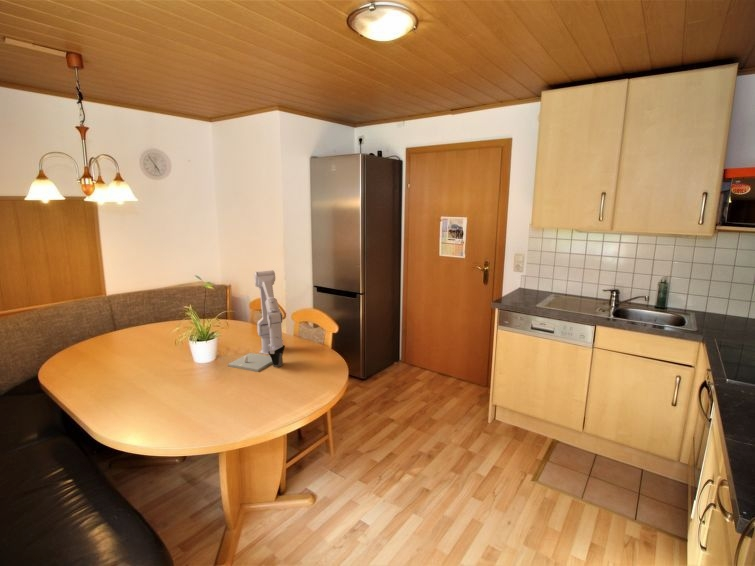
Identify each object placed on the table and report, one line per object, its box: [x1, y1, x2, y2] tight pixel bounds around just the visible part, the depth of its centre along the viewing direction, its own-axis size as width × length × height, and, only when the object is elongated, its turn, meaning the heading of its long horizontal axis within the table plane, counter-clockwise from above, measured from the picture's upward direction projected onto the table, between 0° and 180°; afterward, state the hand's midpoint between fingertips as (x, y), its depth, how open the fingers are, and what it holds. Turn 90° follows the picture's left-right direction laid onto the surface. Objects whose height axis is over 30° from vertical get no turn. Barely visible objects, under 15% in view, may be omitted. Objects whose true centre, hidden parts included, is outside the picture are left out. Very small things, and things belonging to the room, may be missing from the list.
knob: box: [272, 353, 284, 368], centre depth 204 cm, size 5×5×6 cm
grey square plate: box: [227, 352, 273, 373], centre depth 207 cm, size 16×18×4 cm
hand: (277, 362), depth 204 cm, fingers closed on knob, 5 cm apart
